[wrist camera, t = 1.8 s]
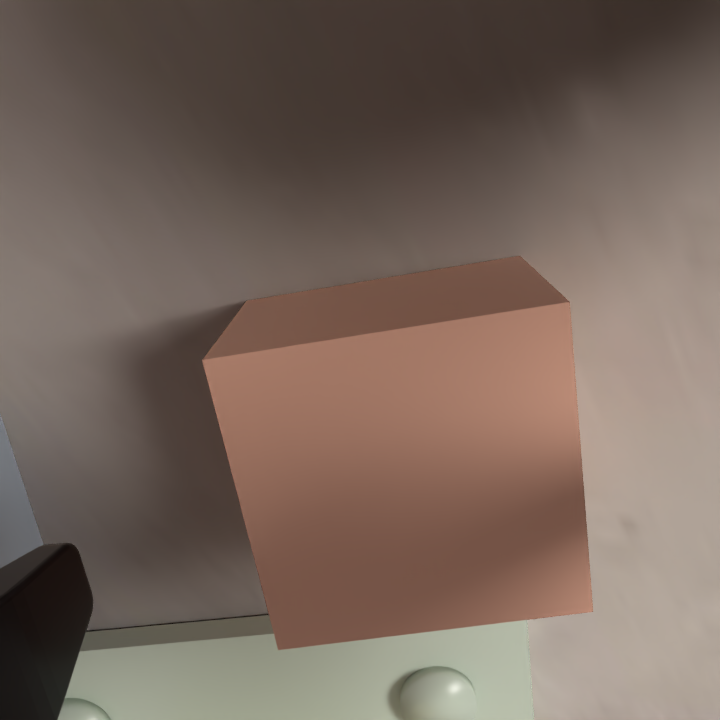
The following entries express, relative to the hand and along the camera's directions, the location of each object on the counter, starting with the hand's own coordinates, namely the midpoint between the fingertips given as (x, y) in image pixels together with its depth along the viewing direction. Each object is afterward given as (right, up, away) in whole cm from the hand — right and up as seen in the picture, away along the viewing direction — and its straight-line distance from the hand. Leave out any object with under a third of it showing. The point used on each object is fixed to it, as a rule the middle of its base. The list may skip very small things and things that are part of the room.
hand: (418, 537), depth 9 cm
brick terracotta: (0, +1, +5) cm, 5 cm away
